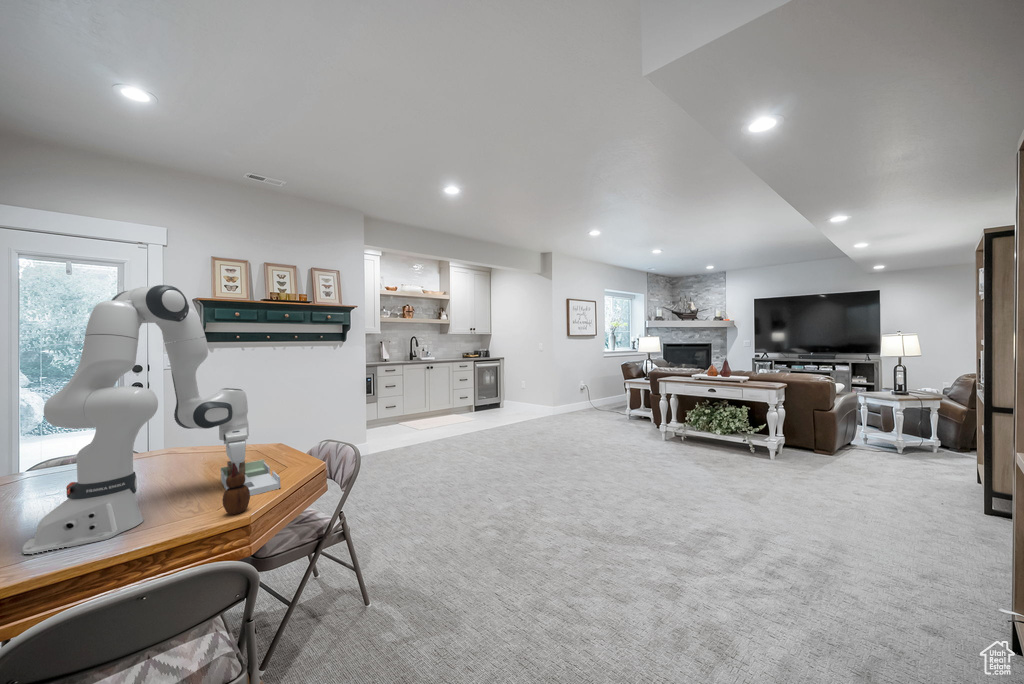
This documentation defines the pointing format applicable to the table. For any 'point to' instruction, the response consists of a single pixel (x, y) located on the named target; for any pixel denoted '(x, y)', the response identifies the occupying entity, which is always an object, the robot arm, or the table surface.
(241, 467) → the walnut block
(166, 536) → the table surface
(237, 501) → the wooden figurine
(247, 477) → the box
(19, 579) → the table surface
